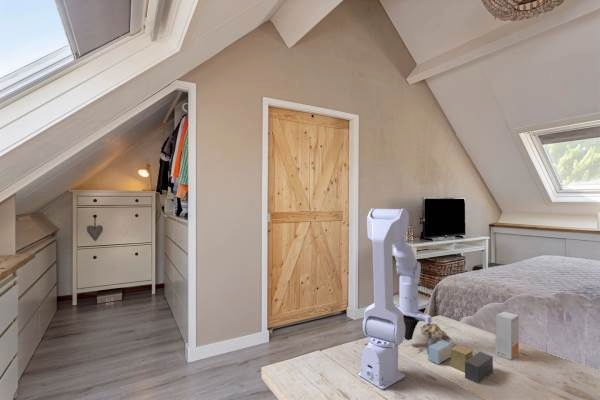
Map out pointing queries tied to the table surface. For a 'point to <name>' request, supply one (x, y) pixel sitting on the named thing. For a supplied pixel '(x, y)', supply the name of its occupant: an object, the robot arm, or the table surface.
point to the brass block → (460, 357)
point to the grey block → (478, 367)
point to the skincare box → (507, 335)
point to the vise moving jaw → (439, 350)
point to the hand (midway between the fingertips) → (408, 338)
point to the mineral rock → (433, 332)
